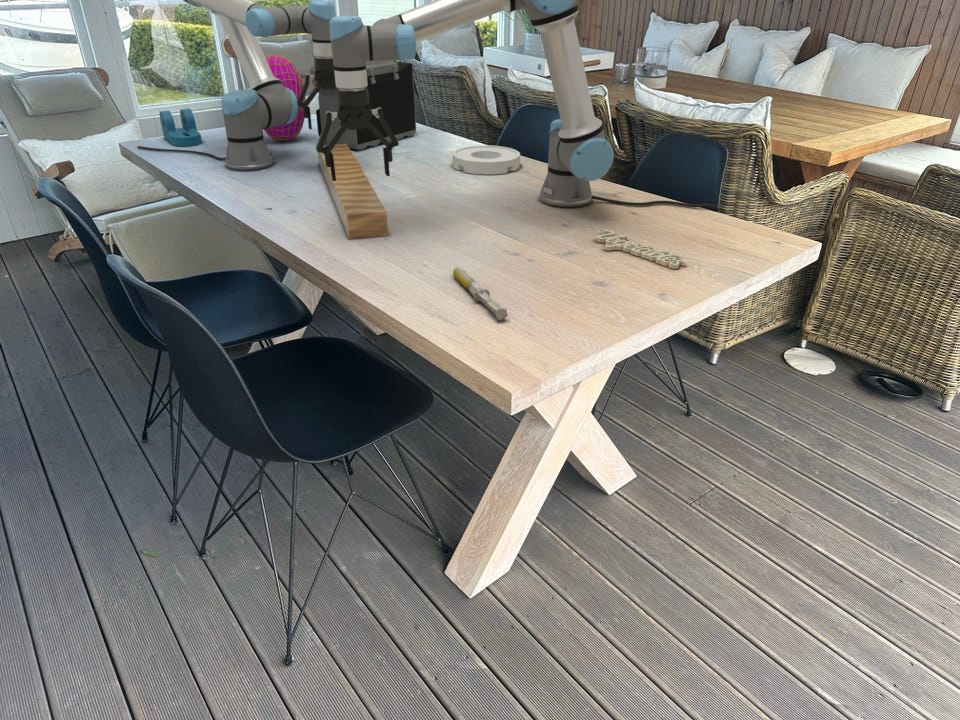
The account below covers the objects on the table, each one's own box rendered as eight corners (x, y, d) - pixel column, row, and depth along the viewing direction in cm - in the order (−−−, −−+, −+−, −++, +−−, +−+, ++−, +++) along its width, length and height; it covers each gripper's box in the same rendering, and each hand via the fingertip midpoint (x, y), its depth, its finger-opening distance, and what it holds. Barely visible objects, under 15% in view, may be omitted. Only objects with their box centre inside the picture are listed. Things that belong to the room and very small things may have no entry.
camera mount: (164, 137, 265) (157, 109, 260) (192, 134, 270) (186, 106, 265) (176, 147, 253) (170, 117, 247) (205, 143, 258) (200, 114, 252)
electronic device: (379, 127, 286) (374, 48, 270) (420, 134, 275) (417, 53, 259) (313, 143, 260) (303, 57, 245) (355, 152, 249) (347, 63, 234)
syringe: (449, 274, 155) (449, 263, 153) (465, 272, 156) (464, 260, 154) (490, 323, 135) (491, 310, 133) (508, 319, 136) (508, 307, 134)
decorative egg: (293, 132, 276) (283, 50, 261) (319, 140, 264) (310, 56, 249) (249, 139, 265) (236, 54, 250) (273, 148, 253) (261, 60, 238)
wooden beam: (387, 235, 176) (386, 211, 173) (349, 239, 174) (347, 214, 170) (348, 162, 237) (346, 143, 234) (319, 164, 235) (317, 145, 232)
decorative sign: (581, 237, 173) (606, 228, 179) (581, 241, 174) (606, 232, 179) (668, 269, 156) (693, 258, 162) (668, 273, 157) (693, 262, 162)
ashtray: (454, 156, 246) (454, 144, 244) (519, 157, 245) (519, 146, 243) (450, 173, 226) (450, 161, 224) (520, 175, 225) (521, 162, 223)
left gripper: (364, 55, 218) (368, 123, 229) (283, 55, 212) (291, 126, 223) (368, 58, 212) (371, 129, 223) (285, 59, 206) (293, 131, 217)
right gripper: (400, 83, 170) (406, 168, 181) (297, 89, 164) (309, 177, 175) (406, 88, 164) (412, 176, 175) (299, 94, 158) (312, 185, 168)
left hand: (331, 127), depth 223 cm, fingers open, 13 cm apart
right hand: (360, 177), depth 175 cm, fingers open, 13 cm apart
